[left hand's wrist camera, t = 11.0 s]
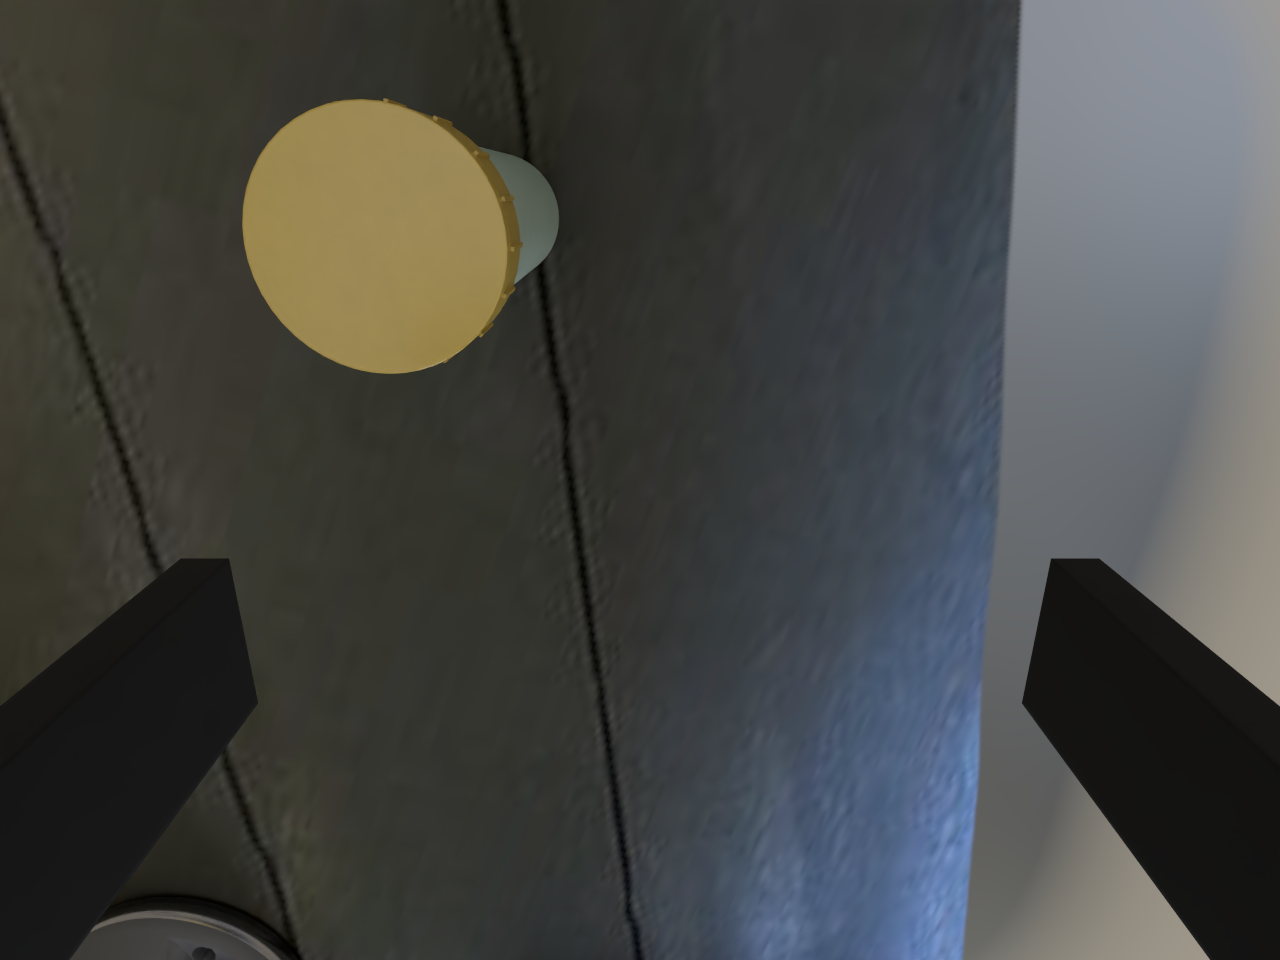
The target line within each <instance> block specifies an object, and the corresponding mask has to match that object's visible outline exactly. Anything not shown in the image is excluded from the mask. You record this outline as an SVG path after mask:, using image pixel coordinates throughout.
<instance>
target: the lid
mask: <svg viewBox="0 0 1280 960" xmlns="http://www.w3.org/2000/svg"><path fill="white" fill-rule="evenodd" d="M452 124H453V123H452V122H450V121H448V120H445V119H443V118H440V117H437V116H433V117H431V116H429V115H426V114H424V113H421V112H418V111H415V110H412V109H409V108H407V106H406V105H403V104H400V103H397V102H395V101H392V100H389V99H384V98H383V101H378V100H367V99H355V100H342V101H334V102H332V103H328V104H324V105H322V106H319V107H316V108H314V109H311V110H309V111H307V112H305V113H303V114H302V115H300V116H298V117H296V118H295V119H293V120H292V121H291V122H289V123H288V124H287V125H286V126H284V127H283V128H282V129H281V130H280V131H279V132H278V133H277V134H276V135H275V136H274V137H273V138H272V139H271V140H270V141H269V143H268V144H267V146H266V147H265V149H264V150H263V151H262V153H261V154H260V156H259V158H258V160H257V162H256V164H255V166H254V168H253V170H252V172H251V175H250V178H249V182H248V185H247V188H246V193H245V198H244V204H243V222H242V226H243V237H244V245H245V249H246V254H247V259H248V262H249V265H250V268H251V271H252V274H253V277H254V279H255V281H256V283H257V285H258V287H259V289H260V291H261V294H262V295H263V297H264V298H265V300H266V302H267V303H268V305H269V306H270V308H271V309H272V311H273V312H274V313H275V314H276V316H277V317H278V318H279V319H280V321H281V322H282V323H283V324H284V325H285V326H286V327H287V328H288V329H289V330H290V331H291V332H292V333H293V334H294V335H295V336H296V337H297V338H299V339H300V340H301V341H302V342H304V343H305V344H306V345H307V346H309V347H310V348H312V349H313V350H315V351H316V352H318V353H320V354H321V355H323V356H325V357H327V358H329V359H331V360H333V361H335V362H337V363H339V364H342V365H345V366H348V367H351V368H354V369H358V370H363V371H368V372H373V373H386V374H393V373H407V372H412V371H418V370H422V369H425V368H428V367H431V366H434V365H437V364H439V363H441V362H444V363H445V362H447V361H448V360H449V359H451V358H452V357H453V356H454V355H455V354H457V353H458V352H460V351H461V350H462V349H464V348H465V347H466V346H467V345H468V344H469V343H470V342H471V341H472V340H474V339H475V338H476V337H477V336H479V337H482V336H483V335H484V334H485V333H486V332H487V331H488V330H489V329H490V328H491V327H492V326H493V325H494V324H493V323H492V321H493V320H494V319H495V317H496V316H497V315H498V314H499V312H500V311H501V309H502V308H503V306H504V304H505V303H506V301H507V299H508V297H509V295H510V294H511V293H513V292H514V291H515V288H516V287H514V286H513V285H514V282H515V278H516V275H517V271H518V265H519V259H520V248H521V247H523V242H520V233H519V224H518V219H517V215H516V210H515V207H514V204H513V200H515V198H514V196H510V193H509V191H508V189H507V187H506V185H505V183H504V181H503V179H502V177H501V175H500V174H499V172H498V171H497V169H496V168H495V166H494V165H493V163H492V162H491V161H490V159H489V157H491V156H490V155H489V153H487V152H483V151H482V150H481V149H480V148H479V147H478V146H477V145H476V144H475V143H474V142H472V141H471V140H470V139H469V138H468V137H467V136H465V135H464V134H463V133H461V132H460V131H458V130H457V129H456V128H454V127H452Z"/></svg>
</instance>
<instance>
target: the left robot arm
mask: <svg viewBox="0 0 1280 960" xmlns="http://www.w3.org/2000/svg"><path fill="white" fill-rule="evenodd" d="M257 704H258V701H257V696H256V691H255V686H254V681H253V676H252V671H251V666H250V661H249V656H248V651H247V646H246V641H245V636H244V631H243V626H242V621H241V616H240V611H239V607H238V602H237V597H236V592H235V587H234V582H233V577H232V572H231V567H230V562H229V559H180V560H179V561H177V562H176V563H175V564H174V565H172V566H171V567H170V568H169V569H168V570H166V571H165V572H164V573H163V574H161V575H160V576H159V577H158V578H157V579H155V580H154V581H153V582H152V583H150V584H149V585H148V586H147V587H146V588H144V589H143V590H142V591H141V592H139V593H138V594H137V595H136V596H135V597H133V598H132V599H131V600H130V601H128V602H127V603H126V604H125V605H124V606H122V607H121V608H120V609H119V610H117V611H116V612H115V613H114V614H113V615H111V616H110V617H109V618H108V619H106V620H105V621H104V622H103V623H102V624H100V625H99V626H98V627H97V628H95V629H94V630H93V631H92V632H91V633H89V634H88V635H87V636H86V637H84V638H83V639H82V640H81V641H80V642H78V643H77V644H76V645H75V646H73V647H72V648H71V649H70V650H69V651H67V652H66V653H65V654H64V655H62V656H61V657H60V658H59V659H58V660H56V661H55V662H54V663H53V664H51V665H50V666H49V667H48V668H47V669H45V670H44V671H43V672H42V673H40V674H39V675H38V676H37V677H36V678H34V679H33V680H32V681H31V682H29V683H28V684H27V685H26V686H25V687H23V688H22V689H21V690H20V691H18V692H17V693H16V694H15V695H14V696H12V697H11V698H10V699H9V700H7V701H6V702H5V703H4V704H3V705H1V706H0V960H298V959H297V957H296V956H295V954H294V953H293V952H292V951H291V949H290V948H289V947H288V946H287V945H286V944H285V943H284V942H283V941H282V940H281V939H280V938H279V937H278V936H277V935H276V934H274V933H273V932H272V931H271V930H269V929H268V928H266V927H265V926H264V925H262V924H260V923H259V922H257V921H255V920H254V919H252V918H250V917H248V916H246V915H244V914H242V913H240V912H238V911H235V910H233V909H230V908H228V907H225V906H222V905H219V904H215V903H211V902H207V901H203V900H198V899H192V898H183V897H151V898H142V899H137V900H132V901H129V902H125V903H122V904H119V905H116V906H114V907H111V908H109V909H107V908H108V907H109V906H110V904H111V903H112V902H113V900H114V899H115V897H116V896H117V895H118V893H119V892H120V891H121V889H122V888H123V887H124V885H125V884H126V882H127V881H128V880H129V878H130V877H131V876H132V874H133V873H134V872H135V870H136V869H137V868H138V866H139V865H140V863H141V862H142V861H143V859H144V858H145V857H146V855H147V854H148V853H149V851H150V850H151V848H152V847H153V846H154V844H155V843H156V842H157V840H158V839H159V838H160V836H161V835H162V833H163V832H164V831H165V829H166V828H167V827H168V825H169V824H170V823H171V821H172V820H173V818H174V817H175V816H176V814H177V813H178V812H179V810H180V809H181V808H182V806H183V805H184V803H185V802H186V801H187V799H188V798H189V797H190V795H191V794H192V793H193V791H194V790H195V788H196V787H197V786H198V784H199V783H200V782H201V780H202V779H203V778H204V776H205V775H206V773H207V772H208V771H209V769H210V768H211V767H212V765H213V764H214V763H215V761H216V760H217V759H218V757H219V756H220V754H221V753H222V752H223V750H224V749H225V748H226V746H227V745H228V744H229V742H230V741H231V739H232V738H233V737H234V735H235V734H236V733H237V731H238V730H239V729H240V727H241V726H242V724H243V723H244V722H245V720H246V719H247V718H248V716H249V715H250V714H251V712H252V711H253V709H254V708H255V707H256V705H257ZM1022 704H1023V705H1024V707H1025V708H1026V709H1027V711H1028V712H1029V713H1030V715H1031V716H1032V717H1033V719H1034V720H1035V722H1036V723H1037V724H1038V726H1039V727H1040V729H1041V730H1042V731H1043V733H1044V734H1045V735H1046V737H1047V738H1048V739H1049V741H1050V742H1051V743H1052V745H1053V746H1054V748H1055V749H1056V750H1057V752H1058V753H1059V754H1060V756H1061V757H1062V758H1063V760H1064V761H1065V763H1066V764H1067V765H1068V767H1069V768H1070V769H1071V771H1072V772H1073V773H1074V775H1075V776H1076V778H1077V779H1078V780H1079V782H1080V783H1081V784H1082V786H1083V787H1084V788H1085V790H1086V791H1087V793H1088V794H1089V795H1090V797H1091V798H1092V799H1093V801H1094V802H1095V803H1096V805H1097V806H1098V808H1099V809H1100V810H1101V812H1102V813H1103V814H1104V816H1105V817H1106V818H1107V820H1108V821H1109V823H1110V824H1111V825H1112V827H1113V828H1114V829H1115V831H1116V832H1117V833H1118V835H1119V836H1120V837H1121V839H1122V840H1123V842H1124V843H1125V844H1126V846H1127V847H1128V848H1129V850H1130V851H1131V853H1132V854H1133V855H1134V857H1135V858H1136V859H1137V861H1138V862H1139V863H1140V865H1141V866H1142V867H1143V869H1144V870H1145V872H1146V873H1147V874H1148V876H1149V877H1150V878H1151V880H1152V881H1153V882H1154V884H1155V885H1156V887H1157V888H1158V889H1159V891H1160V892H1161V893H1162V895H1163V896H1164V897H1165V899H1166V900H1167V902H1168V903H1169V904H1170V906H1171V907H1172V908H1173V910H1174V911H1175V912H1176V914H1177V915H1178V917H1179V918H1180V919H1181V921H1182V922H1183V923H1184V925H1185V926H1186V927H1187V929H1188V930H1189V931H1190V933H1191V934H1192V936H1193V937H1194V938H1195V940H1196V941H1197V942H1198V944H1199V945H1200V947H1201V948H1202V949H1203V951H1204V952H1205V953H1206V955H1207V956H1208V957H1209V959H1210V960H1280V706H1279V705H1277V704H1276V703H1275V702H1274V701H1273V700H1271V699H1270V698H1269V697H1268V696H1266V695H1265V694H1264V693H1263V692H1262V691H1260V690H1259V689H1258V688H1257V687H1255V686H1254V685H1253V684H1252V683H1251V682H1249V681H1248V680H1247V679H1246V678H1244V677H1243V676H1242V675H1241V674H1239V673H1238V672H1237V671H1236V670H1235V669H1233V668H1232V667H1231V666H1230V665H1229V664H1227V663H1226V662H1225V661H1224V660H1222V659H1221V658H1220V657H1219V656H1217V655H1216V654H1215V653H1214V652H1213V651H1211V650H1210V649H1209V648H1208V647H1207V646H1205V645H1204V644H1203V643H1202V642H1200V641H1199V640H1198V639H1197V638H1196V637H1194V636H1193V635H1192V634H1191V633H1189V632H1188V631H1187V630H1186V629H1185V628H1183V627H1182V626H1181V625H1180V624H1178V623H1177V622H1176V621H1175V620H1174V619H1172V618H1171V617H1170V616H1169V615H1167V614H1166V613H1165V612H1164V611H1163V610H1161V609H1160V608H1159V607H1158V606H1156V605H1155V604H1154V603H1153V602H1152V601H1150V600H1149V599H1148V598H1147V597H1145V596H1144V595H1143V594H1142V593H1141V592H1139V591H1138V590H1137V589H1136V588H1134V587H1133V586H1132V585H1131V584H1130V583H1128V582H1127V581H1126V580H1125V579H1123V578H1122V577H1121V576H1120V575H1119V574H1117V573H1116V572H1115V571H1114V570H1112V569H1111V568H1110V567H1109V566H1108V565H1106V564H1105V563H1104V562H1103V561H1101V560H1100V559H1051V562H1050V567H1049V572H1048V577H1047V582H1046V587H1045V592H1044V597H1043V602H1042V606H1041V611H1040V617H1039V621H1038V627H1037V631H1036V636H1035V641H1034V646H1033V651H1032V656H1031V661H1030V666H1029V671H1028V676H1027V681H1026V686H1025V691H1024V696H1023V701H1022Z"/></svg>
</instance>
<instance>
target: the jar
mask: <svg viewBox="0 0 1280 960" xmlns="http://www.w3.org/2000/svg"><path fill="white" fill-rule="evenodd" d="M479 148H480V149H481V150H482V151H483V152H487V153H489V155H490V156H491V157H489V159H490V161H491V162H492V163H493V165H494V166H495V168H496V169H497V171H498V172H499V174H500V175H501V177H502V179H503V181H504V183H505V185H506V187H507V189H508V191H509V193H510V196H514V198H515V200H513V204H514V207H515V210H516V215H517V219H518V224H519V233H520V242H523V247H521V248H520V259H519V265H518V271H517V275H516V278H515V282H514V284H515V283H517V282H518V281H519V280H520V279H521V278H523V277H524V276H525V275H526V274H528V273H529V272H530V271H531V270H533V269H534V268H535V267H536V266H538V265H539V264H540V263H541V262H542V261H543V260H544V259H545V258H546V256H547V255H548V254H549V252H550V250H551V249H552V247H553V245H554V242H555V240H556V237H557V233H558V227H559V211H558V205H557V201H556V198H555V195H554V193H553V190H552V188H551V186H550V185H549V183H548V182H547V180H546V179H545V177H544V176H543V175H542V174H541V173H540V172H539V171H538V170H537V169H536V168H535V167H534V166H532V165H531V164H530V163H528V162H526V161H525V160H523V159H521V158H518V157H516V156H513V155H509V154H505V153H501V152H497V151H494V150H490V149H486V148H482V147H479Z"/></svg>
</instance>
